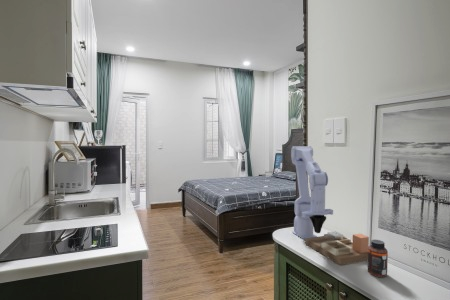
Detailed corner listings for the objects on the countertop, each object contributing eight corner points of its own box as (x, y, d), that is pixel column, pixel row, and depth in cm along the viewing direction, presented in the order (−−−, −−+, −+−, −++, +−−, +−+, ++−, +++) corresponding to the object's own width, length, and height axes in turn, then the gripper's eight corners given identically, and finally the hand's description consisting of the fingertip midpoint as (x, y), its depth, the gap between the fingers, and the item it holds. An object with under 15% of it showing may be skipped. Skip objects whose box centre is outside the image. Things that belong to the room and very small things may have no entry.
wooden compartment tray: (305, 244, 117) (305, 235, 117) (334, 239, 122) (334, 231, 122) (340, 265, 97) (340, 254, 97) (373, 258, 102) (373, 248, 102)
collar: (321, 247, 107) (321, 242, 107) (337, 245, 109) (337, 240, 109) (335, 255, 99) (335, 250, 99) (352, 252, 102) (352, 247, 102)
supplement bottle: (390, 279, 87) (391, 245, 87) (370, 277, 89) (371, 244, 88) (383, 270, 93) (383, 238, 93) (365, 268, 95) (365, 237, 94)
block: (327, 239, 116) (327, 232, 116) (335, 238, 117) (335, 231, 117) (334, 243, 112) (334, 236, 112) (343, 241, 113) (343, 234, 113)
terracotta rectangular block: (352, 249, 105) (352, 234, 105) (360, 248, 106) (360, 233, 106) (360, 253, 101) (360, 238, 101) (368, 252, 103) (368, 236, 102)
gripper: (309, 204, 105) (308, 237, 105) (338, 201, 110) (338, 233, 110) (298, 200, 111) (298, 231, 112) (326, 197, 116) (326, 228, 117)
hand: (317, 232), depth 112 cm, fingers closed
